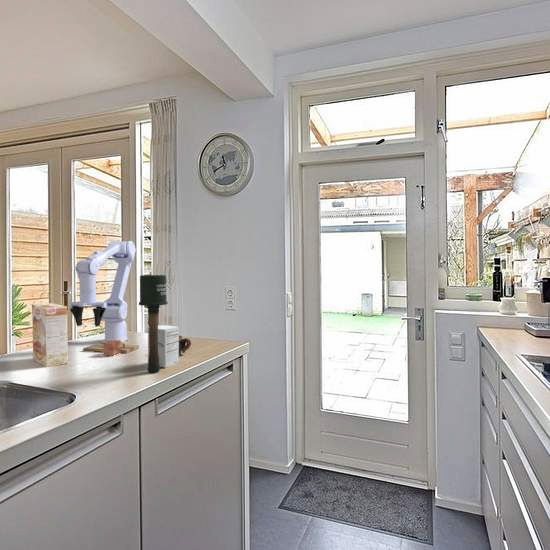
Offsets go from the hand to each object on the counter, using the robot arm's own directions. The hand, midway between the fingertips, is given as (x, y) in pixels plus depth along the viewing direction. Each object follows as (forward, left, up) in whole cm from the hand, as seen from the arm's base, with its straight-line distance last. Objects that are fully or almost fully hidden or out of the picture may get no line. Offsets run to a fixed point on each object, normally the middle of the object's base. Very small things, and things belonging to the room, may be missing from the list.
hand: (88, 326), depth 159 cm
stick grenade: (+25, +39, -10) cm, 48 cm away
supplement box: (+16, +38, -10) cm, 43 cm away
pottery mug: (+1, +36, -10) cm, 37 cm away
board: (-2, +8, -9) cm, 13 cm away
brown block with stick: (+3, +14, -9) cm, 17 cm away
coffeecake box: (+19, -2, -10) cm, 22 cm away
